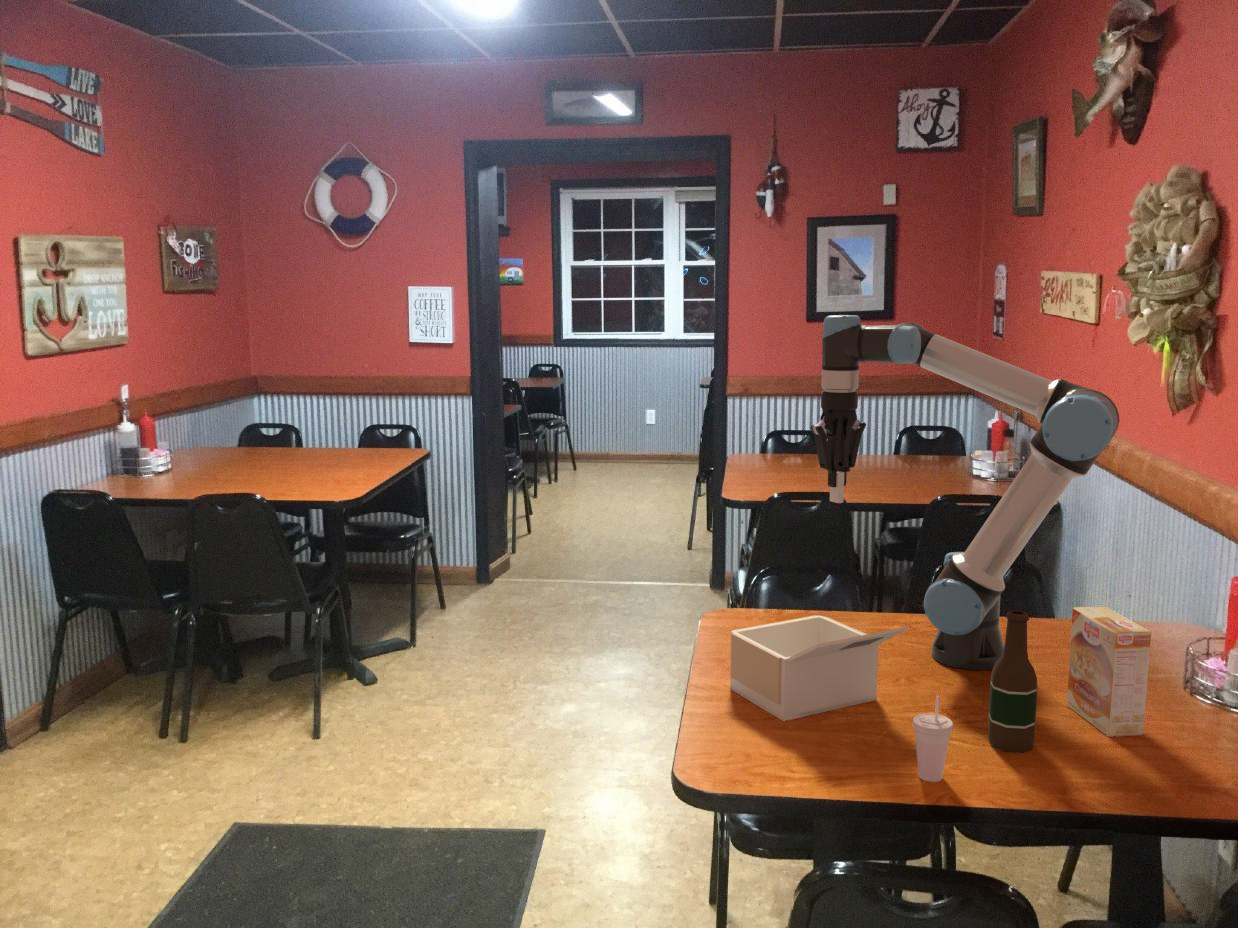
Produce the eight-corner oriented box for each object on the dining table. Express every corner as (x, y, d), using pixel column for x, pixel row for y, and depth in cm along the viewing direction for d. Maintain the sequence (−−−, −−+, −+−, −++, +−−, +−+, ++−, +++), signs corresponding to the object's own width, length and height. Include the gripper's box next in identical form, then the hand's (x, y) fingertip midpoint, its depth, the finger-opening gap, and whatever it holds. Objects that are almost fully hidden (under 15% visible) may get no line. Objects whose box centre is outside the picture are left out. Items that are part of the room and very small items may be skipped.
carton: (726, 688, 214) (726, 631, 212) (819, 669, 224) (821, 614, 222) (780, 721, 197) (782, 659, 195) (878, 699, 208) (881, 640, 206)
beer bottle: (1028, 757, 182) (1037, 621, 178) (982, 747, 186) (989, 614, 182) (1038, 740, 189) (1046, 609, 185) (992, 731, 193) (999, 603, 189)
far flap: (816, 644, 188) (817, 648, 187) (908, 626, 197) (909, 630, 197) (786, 658, 196) (788, 662, 196) (876, 640, 205) (877, 644, 205)
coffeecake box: (1064, 704, 205) (1071, 606, 201) (1100, 703, 205) (1107, 605, 202) (1106, 737, 190) (1114, 632, 187) (1145, 735, 191) (1153, 630, 187)
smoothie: (955, 785, 172) (959, 703, 170) (915, 785, 172) (919, 703, 170) (944, 767, 178) (948, 688, 176) (905, 767, 178) (909, 688, 176)
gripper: (852, 387, 228) (849, 495, 232) (803, 390, 222) (800, 501, 226) (876, 390, 221) (872, 501, 225) (825, 393, 215) (822, 508, 219)
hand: (836, 501), depth 226 cm, fingers closed
